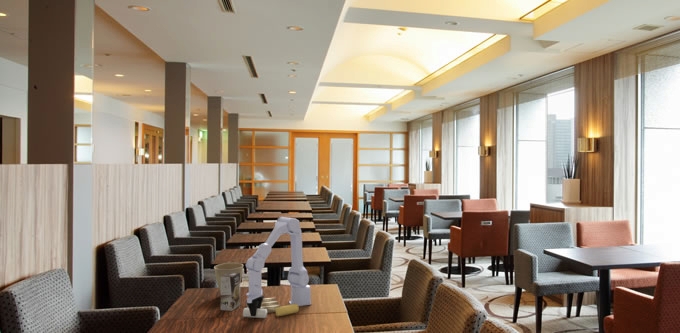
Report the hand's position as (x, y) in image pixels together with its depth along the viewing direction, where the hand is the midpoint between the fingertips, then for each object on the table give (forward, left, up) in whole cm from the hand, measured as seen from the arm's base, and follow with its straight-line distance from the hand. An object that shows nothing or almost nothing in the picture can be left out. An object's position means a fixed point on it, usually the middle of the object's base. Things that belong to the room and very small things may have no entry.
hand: (255, 314), depth 204 cm
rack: (-6, -11, -1) cm, 13 cm away
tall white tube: (0, 0, +1) cm, 1 cm away
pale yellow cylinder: (-15, 0, 0) cm, 14 cm away
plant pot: (+8, -37, -2) cm, 38 cm away
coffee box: (+9, -18, -2) cm, 20 cm away
